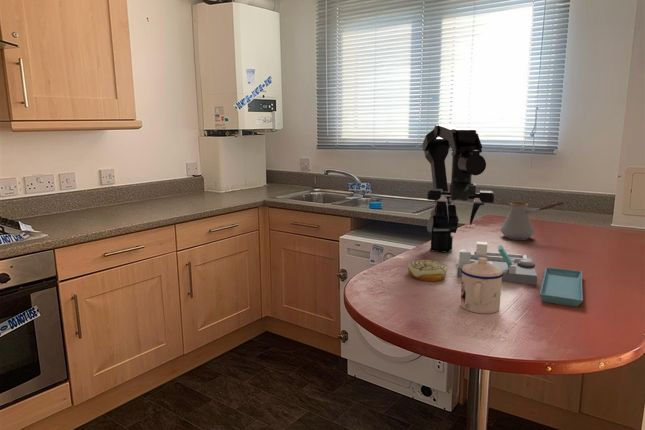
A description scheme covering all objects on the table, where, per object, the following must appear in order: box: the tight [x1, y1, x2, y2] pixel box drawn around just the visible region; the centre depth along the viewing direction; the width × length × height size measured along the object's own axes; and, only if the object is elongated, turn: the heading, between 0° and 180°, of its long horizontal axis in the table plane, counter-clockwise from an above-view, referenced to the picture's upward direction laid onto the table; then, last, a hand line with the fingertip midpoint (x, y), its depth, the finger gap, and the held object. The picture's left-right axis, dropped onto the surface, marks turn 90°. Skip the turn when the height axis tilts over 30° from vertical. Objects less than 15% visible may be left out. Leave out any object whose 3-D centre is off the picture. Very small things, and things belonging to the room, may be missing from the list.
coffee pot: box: [500, 201, 567, 241], centre depth 173 cm, size 21×12×15 cm, turn 57°
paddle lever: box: [497, 244, 515, 266], centre depth 130 cm, size 1×5×7 cm
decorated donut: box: [407, 259, 448, 282], centre depth 132 cm, size 10×11×4 cm
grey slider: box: [458, 248, 472, 264], centre depth 133 cm, size 3×3×4 cm
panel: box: [456, 250, 538, 286], centre depth 136 cm, size 20×18×4 cm
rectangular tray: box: [539, 267, 584, 308], centre depth 122 cm, size 26×9×2 cm, turn 152°
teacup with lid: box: [460, 257, 503, 315], centre depth 107 cm, size 12×9×12 cm
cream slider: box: [475, 241, 488, 255], centre depth 142 cm, size 3×3×4 cm
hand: (458, 224), depth 143 cm, fingers open, 6 cm apart
